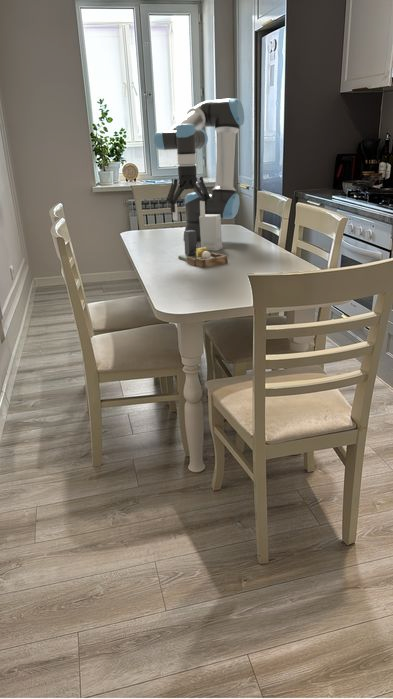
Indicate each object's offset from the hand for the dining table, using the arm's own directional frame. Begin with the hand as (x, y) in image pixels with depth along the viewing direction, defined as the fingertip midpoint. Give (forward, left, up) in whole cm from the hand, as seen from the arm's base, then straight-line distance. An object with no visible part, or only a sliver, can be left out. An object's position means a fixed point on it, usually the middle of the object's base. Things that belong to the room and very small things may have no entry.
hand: (189, 218), depth 219 cm
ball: (0, +12, -14) cm, 18 cm away
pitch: (0, +8, -17) cm, 18 cm away
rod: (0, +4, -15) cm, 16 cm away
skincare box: (-16, -8, -17) cm, 25 cm away
